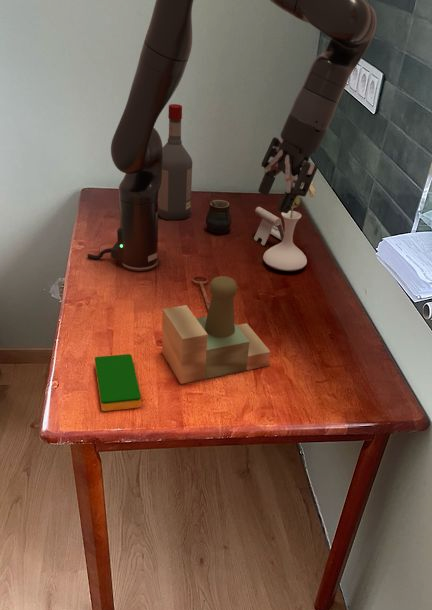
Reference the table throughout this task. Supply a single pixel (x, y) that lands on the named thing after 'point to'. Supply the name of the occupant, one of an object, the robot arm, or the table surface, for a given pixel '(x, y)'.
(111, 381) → the dish sponge
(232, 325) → the brown pawn figure
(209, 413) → the table surface
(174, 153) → the liquor
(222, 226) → the mate gourd
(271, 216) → the tablet stand
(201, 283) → the key
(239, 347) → the stepped block
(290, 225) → the flower in vase
